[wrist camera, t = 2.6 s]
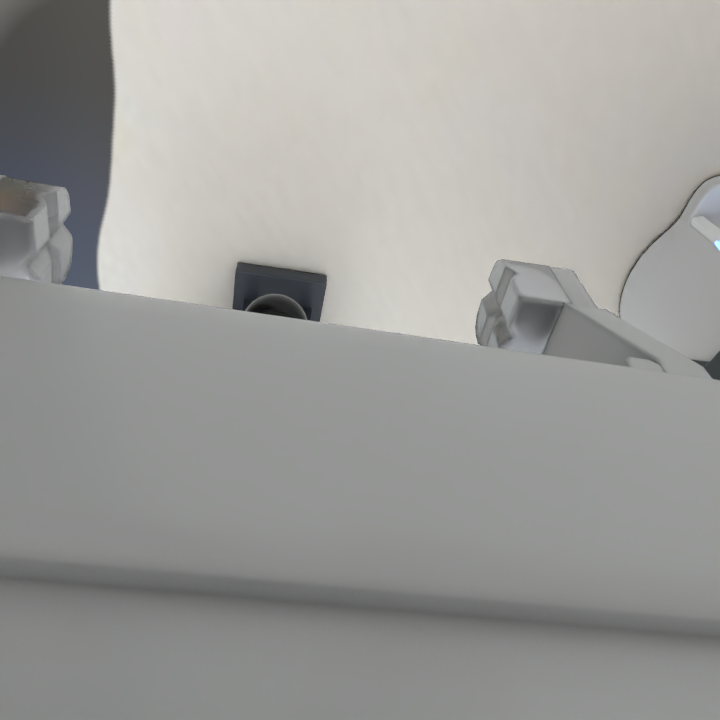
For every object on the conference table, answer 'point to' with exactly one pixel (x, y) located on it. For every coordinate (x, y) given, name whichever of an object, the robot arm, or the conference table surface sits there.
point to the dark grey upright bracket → (279, 287)
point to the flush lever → (277, 306)
